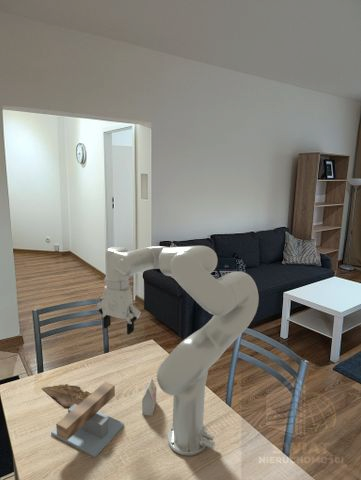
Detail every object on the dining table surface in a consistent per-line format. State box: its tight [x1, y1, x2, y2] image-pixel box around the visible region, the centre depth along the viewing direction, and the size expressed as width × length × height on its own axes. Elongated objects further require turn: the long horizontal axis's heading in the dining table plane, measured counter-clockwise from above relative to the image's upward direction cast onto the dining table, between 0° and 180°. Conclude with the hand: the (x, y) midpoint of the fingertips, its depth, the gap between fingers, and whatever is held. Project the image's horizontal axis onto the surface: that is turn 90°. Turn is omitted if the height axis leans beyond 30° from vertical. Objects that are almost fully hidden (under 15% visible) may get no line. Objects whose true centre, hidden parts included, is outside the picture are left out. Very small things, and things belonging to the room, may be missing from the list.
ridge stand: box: [50, 404, 125, 458], centre depth 105 cm, size 18×14×6 cm
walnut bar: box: [55, 381, 116, 440], centre depth 105 cm, size 22×4×4 cm, turn 153°
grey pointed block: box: [141, 378, 158, 416], centre depth 116 cm, size 4×7×10 cm, turn 173°
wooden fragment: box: [41, 383, 93, 408], centre depth 121 cm, size 26×11×1 cm, turn 65°
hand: (118, 329), depth 115 cm, fingers open, 9 cm apart
